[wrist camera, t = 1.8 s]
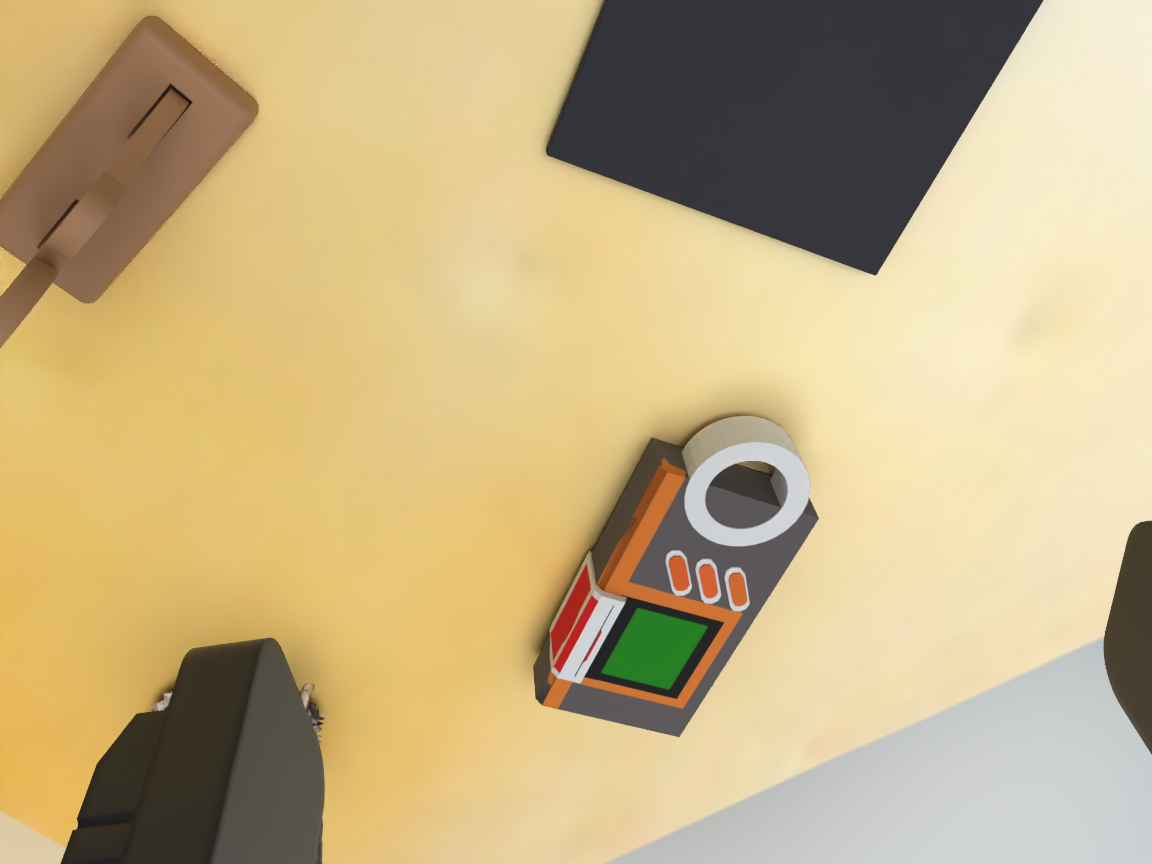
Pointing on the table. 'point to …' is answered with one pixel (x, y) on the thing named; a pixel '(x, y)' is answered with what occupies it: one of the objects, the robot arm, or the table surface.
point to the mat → (787, 108)
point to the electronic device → (677, 576)
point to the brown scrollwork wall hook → (117, 167)
